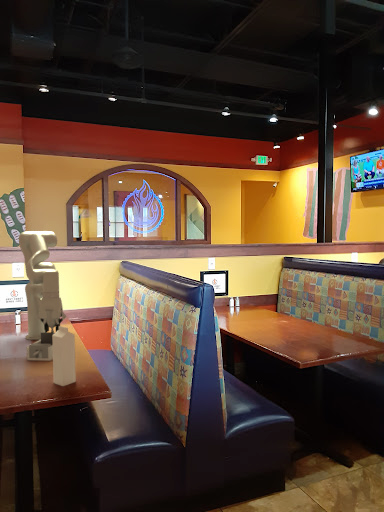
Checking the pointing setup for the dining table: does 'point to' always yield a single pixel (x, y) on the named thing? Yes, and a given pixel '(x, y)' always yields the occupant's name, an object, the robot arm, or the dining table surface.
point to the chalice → (50, 320)
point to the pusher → (45, 340)
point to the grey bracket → (43, 355)
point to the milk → (63, 357)
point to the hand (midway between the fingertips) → (52, 331)
